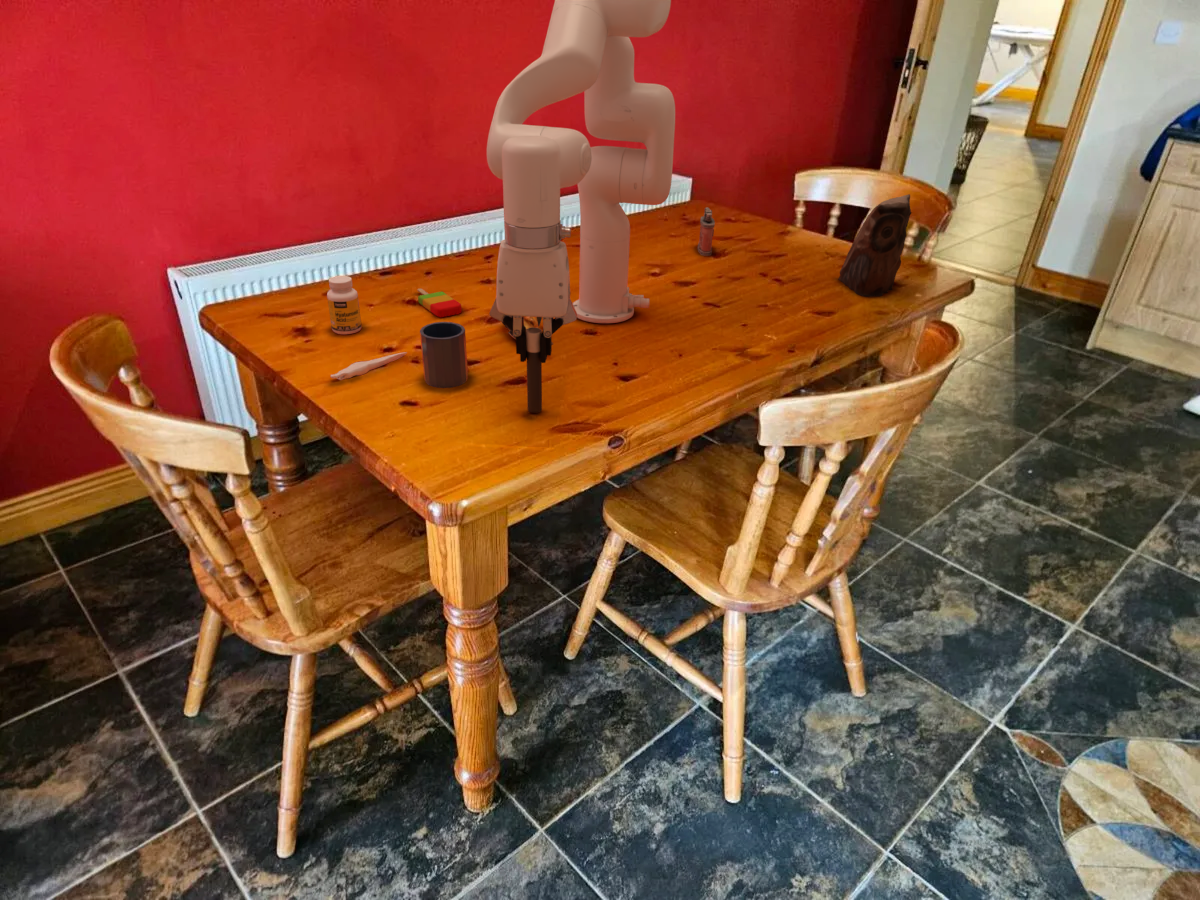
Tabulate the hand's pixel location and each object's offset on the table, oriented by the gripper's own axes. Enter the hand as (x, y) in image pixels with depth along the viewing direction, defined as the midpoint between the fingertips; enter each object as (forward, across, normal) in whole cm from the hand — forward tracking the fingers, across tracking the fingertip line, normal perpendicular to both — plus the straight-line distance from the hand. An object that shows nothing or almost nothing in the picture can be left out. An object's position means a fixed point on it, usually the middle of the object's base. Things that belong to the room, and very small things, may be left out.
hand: (534, 357), depth 117 cm
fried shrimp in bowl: (+10, +5, -28) cm, 30 cm away
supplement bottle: (+10, +39, -29) cm, 50 cm away
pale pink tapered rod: (+10, +29, -12) cm, 33 cm away
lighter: (+10, -31, -89) cm, 95 cm away
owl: (+10, -66, -68) cm, 95 cm away
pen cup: (+10, +16, -10) cm, 21 cm away
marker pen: (+9, 0, 0) cm, 9 cm away
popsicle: (+10, +26, -44) cm, 52 cm away
